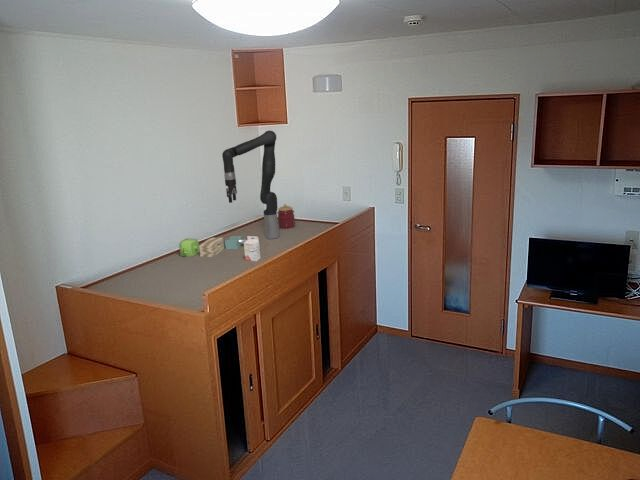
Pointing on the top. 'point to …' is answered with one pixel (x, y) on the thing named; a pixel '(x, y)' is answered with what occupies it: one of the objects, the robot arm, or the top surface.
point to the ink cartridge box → (252, 249)
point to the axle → (238, 240)
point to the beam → (211, 247)
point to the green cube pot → (189, 247)
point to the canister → (286, 217)
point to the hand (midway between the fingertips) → (232, 201)
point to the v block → (233, 242)
